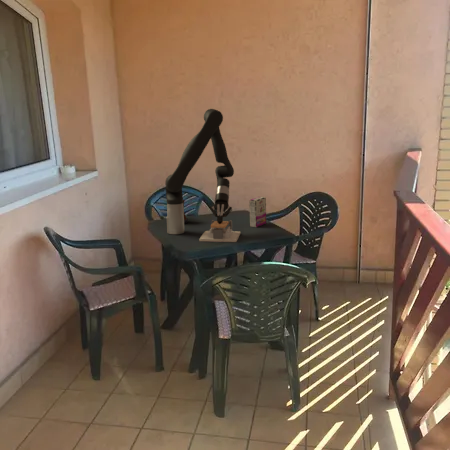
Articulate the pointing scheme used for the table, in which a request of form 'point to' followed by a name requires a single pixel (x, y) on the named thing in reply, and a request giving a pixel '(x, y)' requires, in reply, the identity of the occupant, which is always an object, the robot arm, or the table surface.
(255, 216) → the candy bar box
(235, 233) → the heatsink board
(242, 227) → the table surface
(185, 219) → the mug
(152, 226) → the table surface
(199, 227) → the table surface
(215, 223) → the brown flat panel
